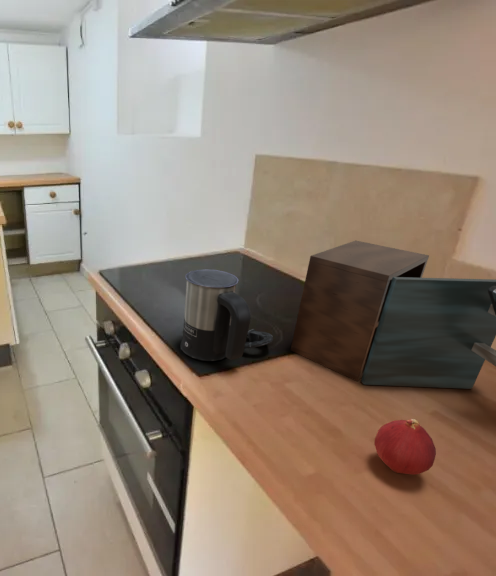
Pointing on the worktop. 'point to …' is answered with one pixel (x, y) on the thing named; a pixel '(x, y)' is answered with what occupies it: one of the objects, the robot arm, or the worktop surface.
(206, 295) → the milk frother
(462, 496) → the worktop surface
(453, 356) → the door
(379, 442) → the onion
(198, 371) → the worktop surface
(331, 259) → the cupboard
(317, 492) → the worktop surface
